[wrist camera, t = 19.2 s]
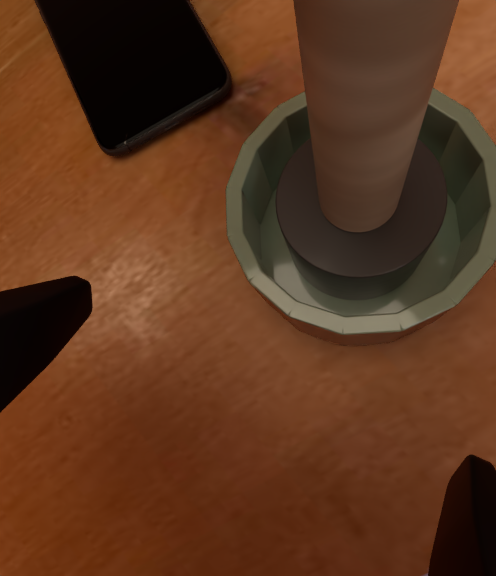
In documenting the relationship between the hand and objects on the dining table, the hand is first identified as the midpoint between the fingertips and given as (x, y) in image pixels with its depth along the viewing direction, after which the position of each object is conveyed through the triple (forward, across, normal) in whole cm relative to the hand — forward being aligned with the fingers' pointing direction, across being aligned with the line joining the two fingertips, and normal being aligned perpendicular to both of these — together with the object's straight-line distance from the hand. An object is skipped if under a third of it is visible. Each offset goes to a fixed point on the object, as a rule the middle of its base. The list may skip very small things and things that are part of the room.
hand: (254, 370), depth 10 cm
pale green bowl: (+11, 0, +2) cm, 11 cm away
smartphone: (+16, +16, -3) cm, 23 cm away
